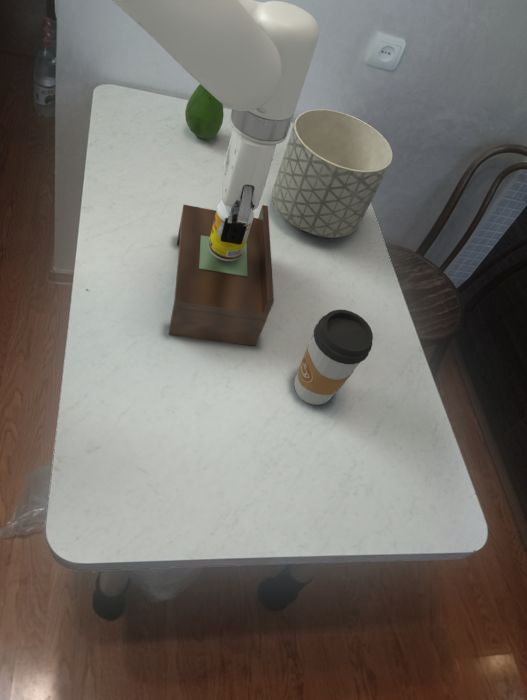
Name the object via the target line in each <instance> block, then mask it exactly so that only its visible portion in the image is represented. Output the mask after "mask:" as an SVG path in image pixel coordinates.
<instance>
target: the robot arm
mask: <svg viewBox="0 0 527 700" xmlns="http://www.w3.org/2000/svg"><path fill="white" fill-rule="evenodd" d="M112 1H113V3H115V5H116V6H118V7H119V8H120V9H121V10H122V11H123V12H124V13H125V14H126V15H127V16H129V17H130V19H132V20H133V21H134V22H135V23H136V24H137V25H139V27H141V29H143V30H144V31H145V32H146V33H147V34H148V35H149V36H150V37H151V38H152V39H153V40H154V41H156V43H157V44H158V45H159V46H161V48H163V50H165V52H166V53H168V55H169V56H170V57H171V58H172V59H173V60H174V61H176V63H178V65H179V66H180V67H182V69H184V70H185V71H186V72H187V73H188V74H189V75H190V76H191V78H193V79H194V80H195V81H196V82H197V83H199V85H200V84H201V85H202V86H203V87H204V88H205V89H206V90H207V91H208V92H210V93H211V94H212V95H213V96H214V97H215V98H216V99H217V100H218V101H220V102H221V103H222V104H223V106H225V107H226V108H229V109H231V112H230V113H231V114H230V116H229V124H230V127H231V128H232V132H231V134H230V139H229V143H228V147H227V150H226V153H225V157H224V161H223V164H222V170H221V171H222V174H221V201H223V203H224V204H225V205H226V206H227V205H229V206H230V210H229V215H228V218H225V222H224V226H223V230H222V234H221V241H222V242H227V243H233V244H238V245H240V244H242V241H243V238H244V235H245V232H246V228H247V225H248V219H249V215H250V211H251V209H252V210H253V211H255V210H257V209H258V207H259V205H260V202H261V200H262V196H263V195H264V194H263V193H264V190H265V187H266V184H267V180H268V178H269V177H268V176H269V173H270V169H271V165H272V163H273V160H274V155H275V151H276V146H277V145H279V144H281V143H283V142H285V141H286V139H287V137H288V134H289V130H290V128H291V124H292V121H293V117H294V115H295V112H296V109H297V105H298V103H299V100H300V97H301V93H302V91H303V88H304V84H305V82H306V78H307V75H308V73H309V69H310V65H311V62H312V60H313V56H314V53H315V50H316V47H317V43H318V40H319V35H320V30H319V29H320V28H319V24H318V22H317V20H316V19H315V18H314V16H313V15H312V14H311V13H309V12H308V11H306V10H305V9H303V8H302V7H300V6H298V5H296V4H293V3H290V2H287V1H280V0H268V1H264V2H261V1H257V0H112ZM239 198H241V200H240V201H237V200H238V199H239ZM235 207H238V208H239V212H238V214H234V210H235ZM233 214H234V215H233Z"/></svg>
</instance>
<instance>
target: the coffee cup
mask: <svg viewBox="0 0 527 700" xmlns="http://www.w3.org/2000/svg"><path fill="white" fill-rule="evenodd" d="M373 340H374V333H373V330H372V328H371V325H369V323H368V322H367V321H366V320H365V319H364V318H363V317H362V316H361V315H360V314H358V313H355V312H353V311H351V310H347V309H334V310H331V311H329V312H328V313H326V314H325V315H323V316H322V317H321V318H320V319H319V321H318V322H317V323H316V324H315V326H314V329H313V334H312V337H311V339H310V342H309V344H308V345H307V348H306V350H305V352H304V355H303V357H302V360H301V362H300V365H299V367H298V370H297V372H296V374H295V375H296V376H295V378H294V383H293V385H294V390H295V392H296V394H297V396H298V397H299V398H300V399H301V401H303V402H304V403H307V404H309V405H312V406H317V405H318V406H319V405H323V404H326V403H327V402H329V401H330V400H331V399H332V398H333V396H334V395H335V394H336V393H337V392H338V391H339V390H340V389H341V387H342V386H343V385H344V384H345V383H346V382H347V381H348V379H349V378H350V377H351V376H352V374H354V371H356V369H357V367H358V366H359V365H360V364H361V363H362V362H363V361H365V360H366V359H367V358H368V356H369V354H370V352H371V351H372V348H373Z"/></svg>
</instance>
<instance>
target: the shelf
mask: <svg viewBox="0 0 527 700" xmlns="http://www.w3.org/2000/svg"><path fill="white" fill-rule="evenodd" d="M216 210H217V209H216ZM216 210H215V209H210V208H206V207H198V206H195V205H194V206H193V205H189V204H183V205H182V210H181V216H180V223H179V226H178V227H179V228H178V232H177V233H178V234H177V239H176V246H178V256H177V265H176V267H177V268H176V278H175V279H176V280H175V289H174V290H175V291H174V301H173V305H172V312H171V315H170V316H171V317H170V321H169V326H168V335H170V336H177V337H183V338H190V339H191V338H192V339H199V340H207V341H214V342H222V343H230V344H235V345H236V344H237V345H245V346H251V347H256V346H257V344H258V342H259V339H260V337H261V334H262V332H263V329H264V327H265V324H266V322H267V320H268V317H269V315H270V312H271V309H272V307H273V305H274V302H275V298H274V296H275V295H274V282H273V281H274V279H273V264H272V250H271V249H272V248H271V231H270V217H269V206H268V205H266V204H262V205H261V207H260V211H259V214H258V218H257V217H254V218H253V221H252V225H251V228H250V231H249V234H248V238H247V241H246V244H245V247H244V251H243V253H242V255H241V257H240V258H238V259H237V260H234V261H224V260H220V259H218V258H216V257H215V256H214V255H213V254H212V253H211V252H210V250H209V240H210V236H211V231H212V227H213V223H214V218H215V214H216Z"/></svg>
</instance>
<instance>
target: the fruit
mask: <svg viewBox="0 0 527 700" xmlns="http://www.w3.org/2000/svg"><path fill="white" fill-rule="evenodd" d="M184 114H185V115H184V116H185V122H186V125H187V127H188V129H189V130H190V132H191V133H192V134H194V135H195V136H196V137H197V138H200V139H203V140H209V139H212V138H213V137H214V136H216V135H217V134H218V133H219V131H220V130H221V127H222V126H223V121H224V116H225V115H224V105H223V104H222V103H221V102H220V101H218V100H217V99H216V98H215V97H214V96H213V95H212V94H211V93H210V92H208V91H207V90H206V89H205V88H204V87H203V86H202V85H201V84H200V83H199V84H198V85H197V87H196V88H195V90H194V91H193V92H192V94H191V95H190V96H189V99H188V101H187V104H186V107H185V112H184Z"/></svg>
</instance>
